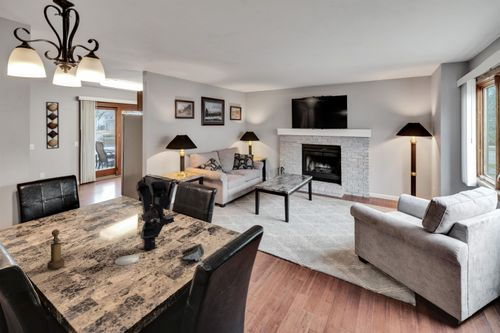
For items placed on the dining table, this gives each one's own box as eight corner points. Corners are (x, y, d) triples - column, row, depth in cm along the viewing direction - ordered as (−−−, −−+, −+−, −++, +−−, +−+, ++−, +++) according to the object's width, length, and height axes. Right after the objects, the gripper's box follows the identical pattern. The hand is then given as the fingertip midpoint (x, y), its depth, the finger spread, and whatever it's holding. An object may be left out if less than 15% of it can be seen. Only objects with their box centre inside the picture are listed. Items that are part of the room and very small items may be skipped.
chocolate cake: (176, 261, 126) (193, 246, 124) (180, 252, 133) (195, 238, 131) (190, 272, 128) (207, 258, 126) (193, 263, 135) (208, 250, 133)
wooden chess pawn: (67, 263, 125) (67, 227, 125) (58, 268, 118) (57, 231, 118) (54, 263, 125) (53, 228, 124) (43, 269, 118) (43, 231, 118)
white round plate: (110, 262, 126) (110, 260, 126) (131, 255, 135) (131, 253, 135) (122, 267, 120) (122, 264, 120) (143, 259, 129) (143, 257, 129)
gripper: (132, 205, 128) (133, 235, 128) (155, 208, 118) (156, 241, 118) (151, 202, 138) (151, 230, 138) (174, 205, 128) (174, 235, 128)
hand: (158, 234), depth 130 cm, fingers closed
